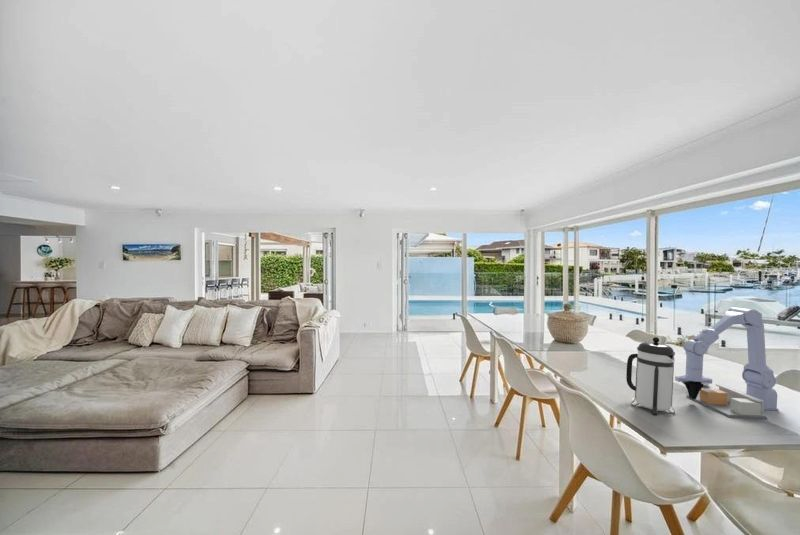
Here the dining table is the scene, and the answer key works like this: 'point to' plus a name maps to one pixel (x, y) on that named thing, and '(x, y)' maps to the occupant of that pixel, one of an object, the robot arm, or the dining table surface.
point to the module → (713, 396)
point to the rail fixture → (737, 405)
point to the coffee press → (653, 376)
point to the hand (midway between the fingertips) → (692, 398)
